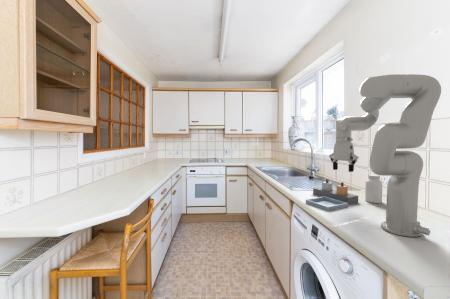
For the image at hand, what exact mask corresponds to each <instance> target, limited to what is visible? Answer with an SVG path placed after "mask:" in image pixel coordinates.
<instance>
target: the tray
mask: <svg viewBox="0 0 450 299" xmlns="http://www.w3.org/2000/svg"><path fill="white" fill-rule="evenodd" d="M305 204H307V205H310V206H313V207H316V208H319V209H321V210H324V211H327V212H330V211H335V210H338V209H344V208H348V207H349V204H348V203H346V202H342V201H339V200H335V199H332V198H329V197H325V196H324V197H322V196H320V197H319V196H318V197H313V198H307V199H305Z"/></svg>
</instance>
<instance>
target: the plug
mask: <svg viewBox="0 0 450 299" xmlns="http://www.w3.org/2000/svg"><path fill="white" fill-rule="evenodd" d="M348 187H349V186H348V185H344V182H343V181H342V182H340V184H339V185H336V190H337V194H340V195H348V189H349V188H348Z"/></svg>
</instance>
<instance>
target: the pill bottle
mask: <svg viewBox="0 0 450 299" xmlns="http://www.w3.org/2000/svg"><path fill="white" fill-rule="evenodd" d="M380 177H381V175H377V174H368V179H366V180H365V187H364V188H365V191H364V192H365V193H364V195H365V202H368V203H371V204H381V203H382V202H383V182H382V181H381V180H380Z"/></svg>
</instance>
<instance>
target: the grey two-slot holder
mask: <svg viewBox="0 0 450 299" xmlns="http://www.w3.org/2000/svg"><path fill="white" fill-rule="evenodd" d="M312 190H313V191H312V193H313V194H312V195H315V196H318V197H319V196H320V197H324V196H325V197H329V198H332V199H335V200H339V201H342V202H346V203H348V205H351V204H352V205H353V204H357V203H359V195H357V194H353V193H348V195H340V194H337V189H333V188H332V191H324V190H322V186H319V187H313V189H312Z"/></svg>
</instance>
